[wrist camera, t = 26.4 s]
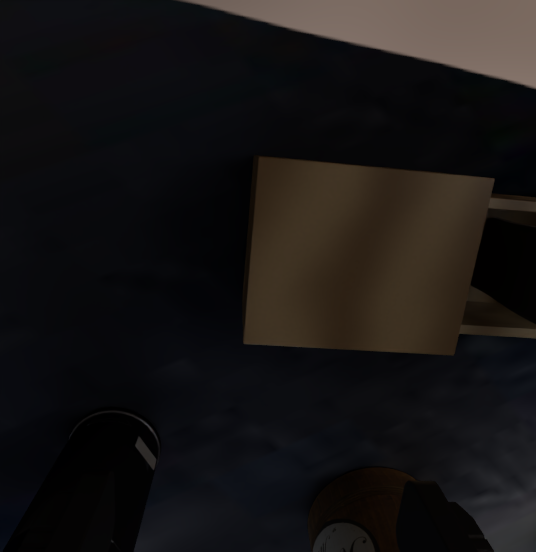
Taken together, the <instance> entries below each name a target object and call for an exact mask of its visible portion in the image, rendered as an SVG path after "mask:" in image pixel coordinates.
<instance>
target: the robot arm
mask: <svg viewBox="0 0 536 552" xmlns="http://www.w3.org/2000/svg"><path fill="white" fill-rule="evenodd" d="M160 453H161V442H160V438H159V435H158V433H157V431H156V429H155V428H154V426H153V425H152V424H151V423H150V422H149V421H148V420H147V419H146V418H144V417H143V416H141V415H140V414H138V413H136V412H133V411H130V410H127V409H122V408H105V409H100V410H97V411H94V412H92V413H90V414H88V415H86V416H85V417H83V418H82V419H81V420H80V421H79V422H78V423H77V425H76V426H75V427H74V429H73V431H72V433H71V435H70V437H69V440H68V441H67V443H66V445H65V446H64V448H63V450H62V451H61V453H60V455H59V456H58V458H57V460H56V461H55V463H54V465H53V466H52V468H51V470H50V472H49V473H48V475H47V477H46V478H45V480H44V482H43V483H42V485H41V487H40V489H39V490H38V492H37V494H36V495H35V497H34V499H33V500H32V502H31V504H30V505H29V507H28V509H27V511H26V512H25V514H24V516H23V517H22V519H21V521H20V522H19V524H18V526H17V528H16V529H15V531H14V533H13V534H12V536H11V538H10V539H9V541H8V543H7V545H6V546H5V548H4V550H3V552H134V548H135V544H136V541H137V537H138V533H139V529H140V525H141V522H142V518H143V514H144V510H145V506H146V502H147V499H148V495H149V491H150V487H151V484H152V480H153V476H154V472H155V468H156V466H157V463H158V461H159V457H160ZM396 538H397V544H398V548H399V550H400V552H494V550H493V549H492V547H491V546H490V544H489V542H488V541H487V539H485V538H484V535H483V533H482V531H481V530H480V528H479V527H478V525H477V524H476V522H475V520H474V519H473V518H472V517H471V516H470V515H469V514H468V513H467V512H466V511H465V510H464V509H463V508H462V507H460V506H459V505H458V504H457V503H456V502H448V501H447V499H446V497H445V496H444V494H443V492H442V491H441V489H440V487H439V486H438V484H437V483H436V482H434V481H407V482H406V483H405V486H404V490H403V494H402V499H401V504H400V508H399V513H398V517H397V522H396Z"/></svg>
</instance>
